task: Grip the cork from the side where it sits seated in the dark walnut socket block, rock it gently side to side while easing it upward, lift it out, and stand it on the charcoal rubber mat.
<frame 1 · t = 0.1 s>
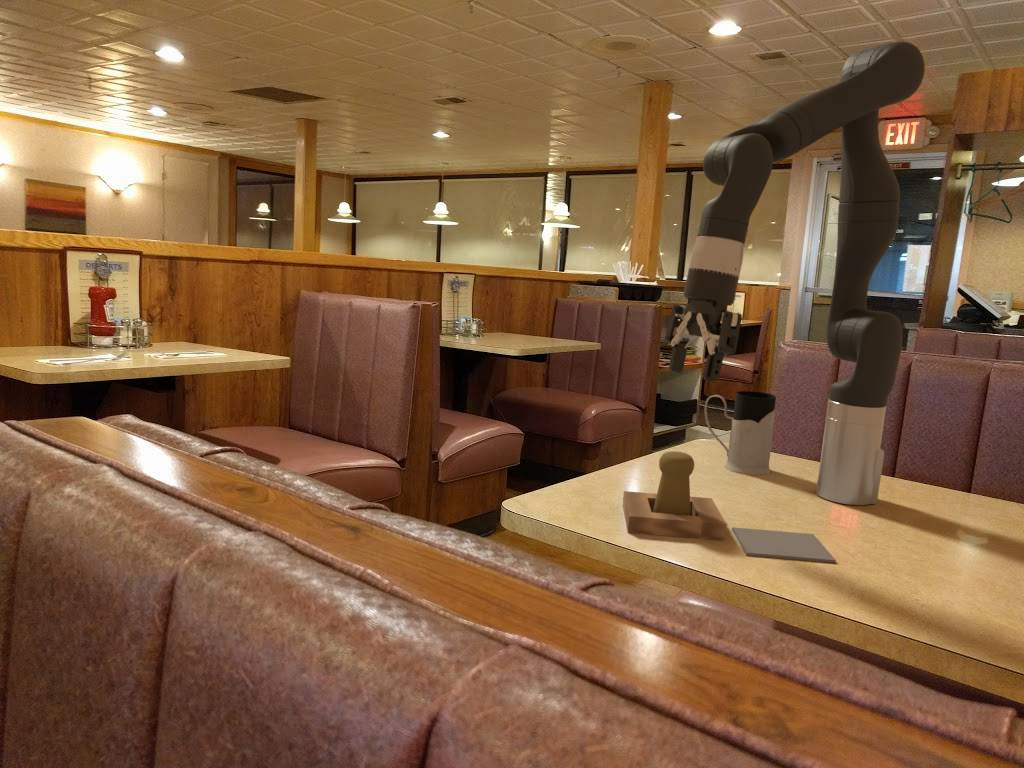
hand: (691, 376, 115), 22 cm above the table, tool pointing down, fingers open, 8 cm apart
rubber mat: (781, 545, 109), on the table
socket block: (670, 522, 116), on the table
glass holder: (733, 467, 151), on the table
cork: (670, 523, 116), resting in socket block
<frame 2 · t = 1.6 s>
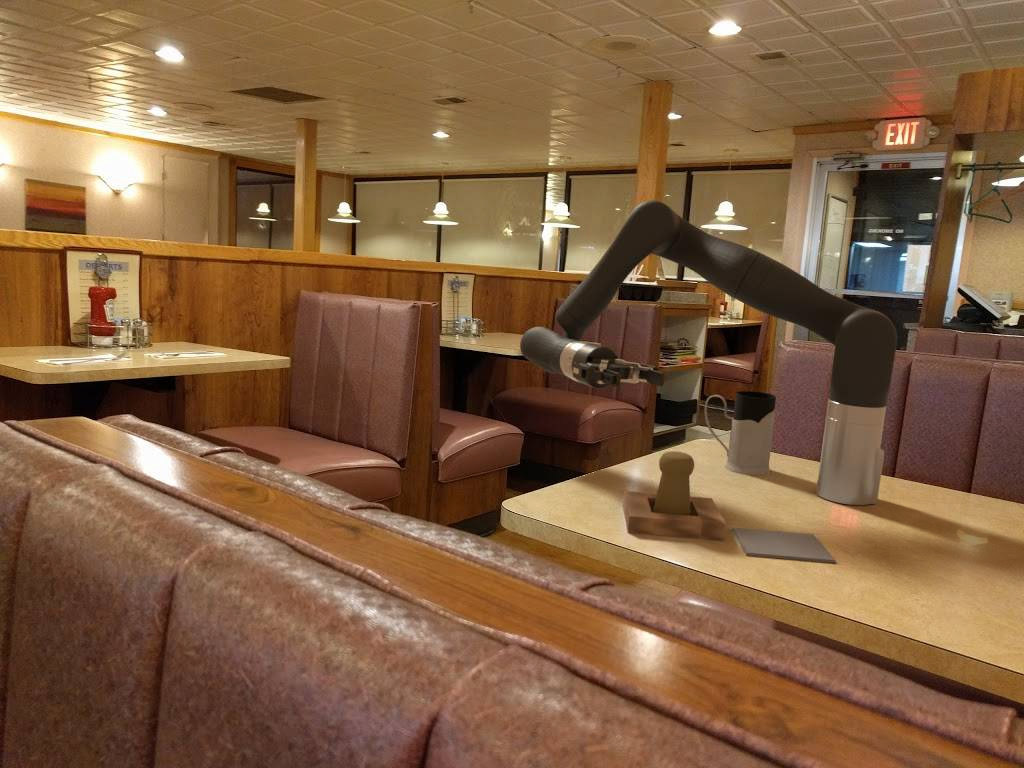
hand: (640, 380, 122), 20 cm above the table, tool horizontal, fingers open, 8 cm apart
nothing on the table moved.
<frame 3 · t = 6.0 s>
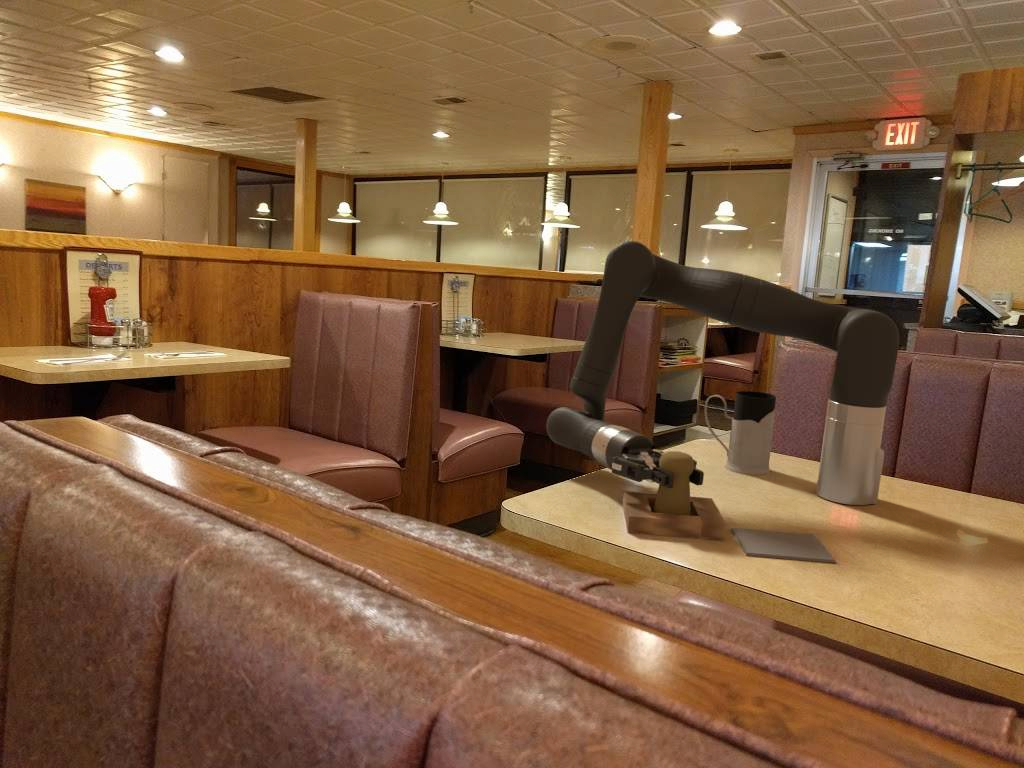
hand: (686, 480, 112), 7 cm above the table, tool horizontal, fingers closed on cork, 5 cm apart
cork: (670, 523, 116), resting in socket block, touching gripper
everything else where it was.
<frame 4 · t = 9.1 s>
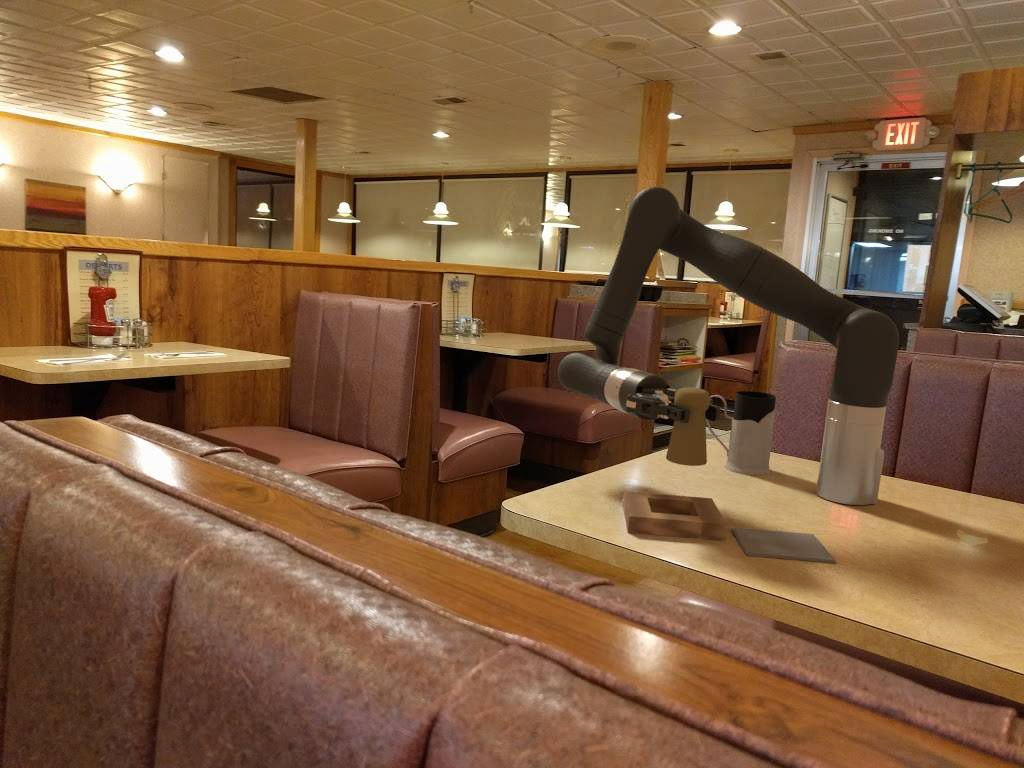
hand: (702, 415, 110), 18 cm above the table, tool horizontal, fingers closed on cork, 5 cm apart
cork: (686, 461, 114), point 10 cm above the table, touching gripper
everything else where it was.
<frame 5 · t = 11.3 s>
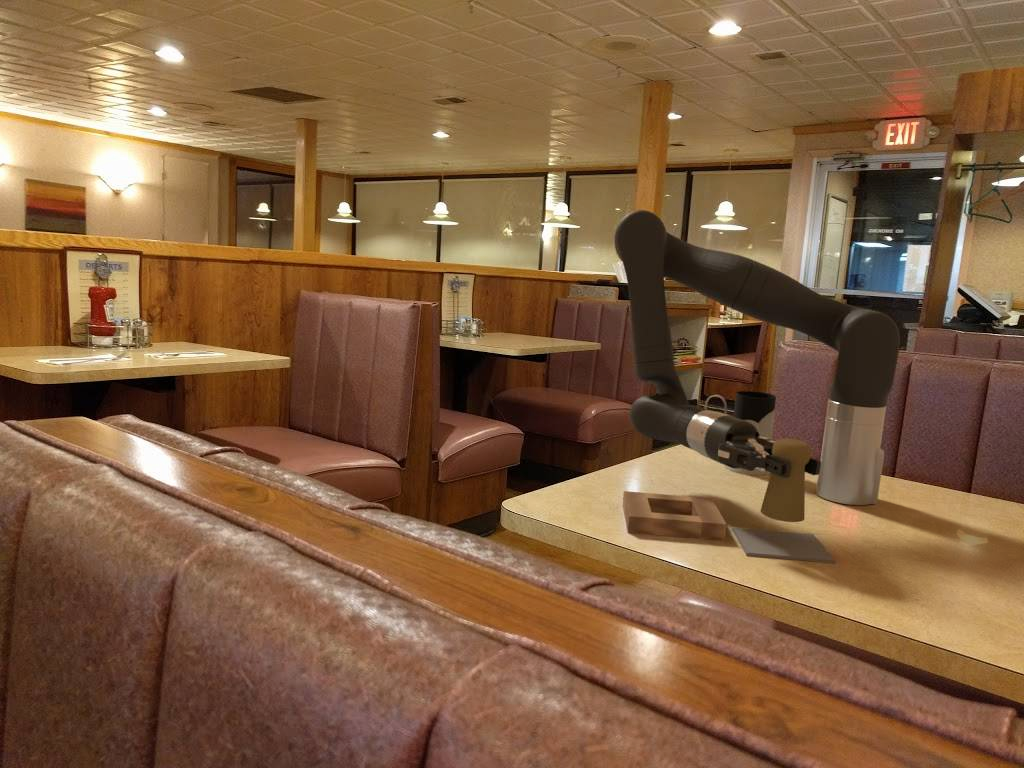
hand: (803, 469, 105), 12 cm above the table, tool horizontal, fingers closed on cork, 5 cm apart
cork: (782, 515, 108), point 4 cm above the table, touching gripper
everything else where it was.
when the fingers open (9 cm above the table, at t = 12.6 s): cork moves 2 cm, resting on rubber mat.
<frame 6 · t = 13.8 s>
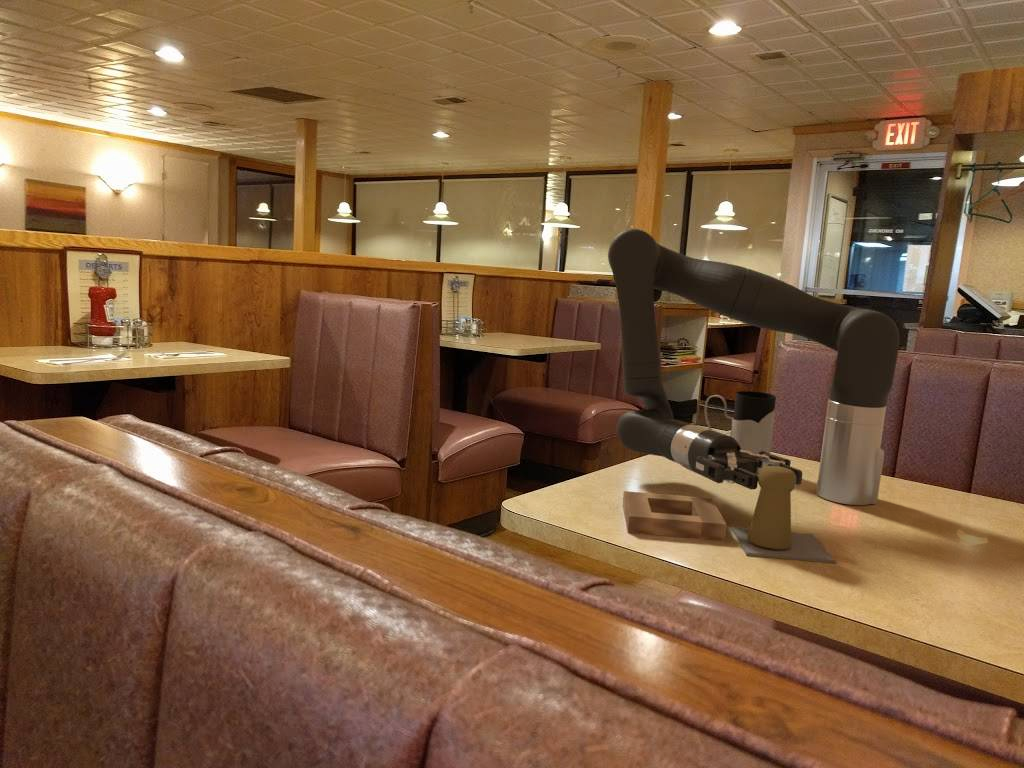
hand: (778, 480, 109), 9 cm above the table, tool horizontal, fingers open, 8 cm apart
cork: (768, 543, 108), resting on rubber mat
everything else where it was.
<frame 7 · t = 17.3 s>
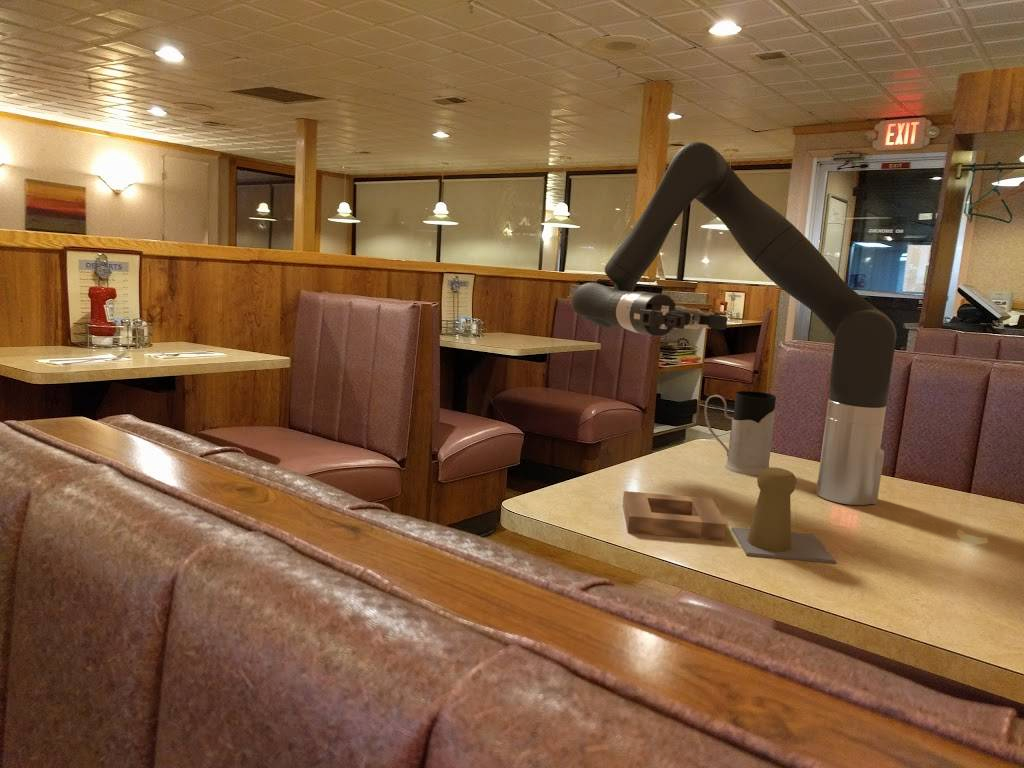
hand: (704, 322, 122), 30 cm above the table, tool horizontal, fingers open, 8 cm apart
nothing on the table moved.
at the end: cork inside the target area on the rubber mat (2.0 cm from its centre), point 0.2 cm above the rubber mat's base; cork tilted 0°; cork touching rubber mat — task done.
